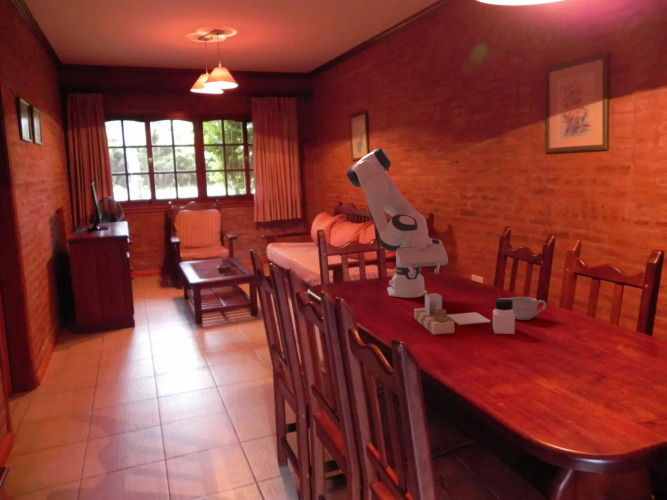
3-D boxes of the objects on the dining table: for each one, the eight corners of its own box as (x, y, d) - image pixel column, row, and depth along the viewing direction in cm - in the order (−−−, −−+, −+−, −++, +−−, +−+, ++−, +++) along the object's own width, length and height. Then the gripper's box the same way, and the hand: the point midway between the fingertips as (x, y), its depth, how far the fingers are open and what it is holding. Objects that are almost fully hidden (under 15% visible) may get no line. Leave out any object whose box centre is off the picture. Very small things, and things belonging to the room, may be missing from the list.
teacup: (505, 320, 210) (506, 300, 209) (510, 313, 220) (511, 294, 218) (543, 324, 204) (544, 303, 202) (546, 316, 213) (547, 297, 212)
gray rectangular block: (425, 314, 209) (424, 294, 207) (437, 312, 210) (437, 293, 208) (429, 317, 204) (429, 297, 203) (441, 316, 205) (441, 296, 203)
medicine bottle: (514, 334, 193) (515, 302, 191) (494, 333, 195) (494, 301, 193) (512, 328, 200) (513, 297, 198) (492, 327, 201) (493, 296, 200)
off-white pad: (446, 315, 219) (446, 314, 219) (476, 313, 221) (476, 312, 221) (459, 324, 206) (459, 323, 206) (490, 322, 209) (490, 320, 209)
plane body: (414, 318, 217) (414, 299, 216) (433, 316, 219) (433, 297, 217) (433, 334, 196) (433, 313, 195) (454, 332, 197) (454, 311, 196)
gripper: (396, 242, 222) (401, 270, 214) (445, 240, 222) (451, 267, 214) (395, 251, 227) (399, 278, 219) (442, 249, 228) (448, 276, 219)
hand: (425, 273), depth 216 cm, fingers open, 8 cm apart
